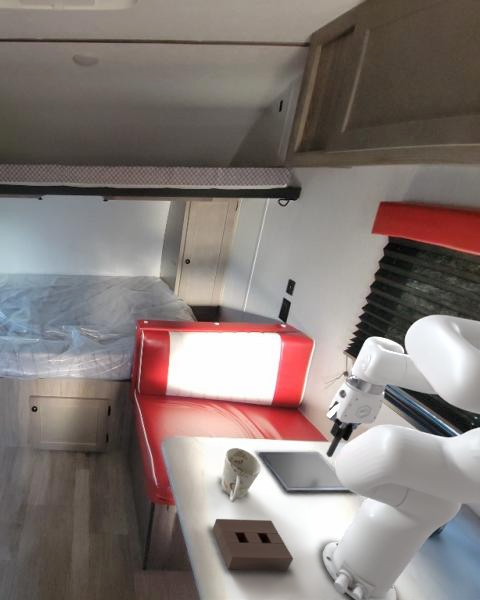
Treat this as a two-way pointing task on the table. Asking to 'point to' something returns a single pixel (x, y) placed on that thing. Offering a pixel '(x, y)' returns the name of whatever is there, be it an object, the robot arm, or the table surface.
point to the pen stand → (251, 545)
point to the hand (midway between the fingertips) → (338, 436)
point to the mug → (239, 472)
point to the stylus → (334, 445)
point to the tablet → (303, 472)
